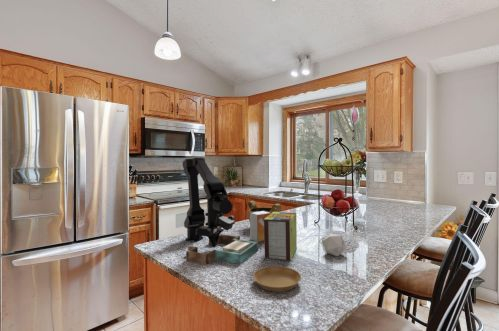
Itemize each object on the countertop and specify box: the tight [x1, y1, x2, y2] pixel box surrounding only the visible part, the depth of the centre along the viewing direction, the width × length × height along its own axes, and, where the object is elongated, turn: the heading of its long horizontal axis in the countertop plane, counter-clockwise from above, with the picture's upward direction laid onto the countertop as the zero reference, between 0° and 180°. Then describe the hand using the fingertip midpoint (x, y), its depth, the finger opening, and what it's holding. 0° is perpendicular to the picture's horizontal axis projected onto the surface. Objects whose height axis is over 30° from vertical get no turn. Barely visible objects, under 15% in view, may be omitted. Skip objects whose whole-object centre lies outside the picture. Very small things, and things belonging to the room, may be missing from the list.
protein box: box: [263, 211, 298, 262], centre depth 108 cm, size 10×15×16 cm
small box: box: [249, 211, 271, 243], centre depth 127 cm, size 8×6×13 cm
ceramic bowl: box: [247, 200, 282, 223], centre depth 147 cm, size 22×17×15 cm
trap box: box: [185, 233, 259, 265], centre depth 109 cm, size 24×26×4 cm
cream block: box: [221, 241, 250, 253], centre depth 107 cm, size 7×10×4 cm
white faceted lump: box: [321, 232, 347, 257], centre depth 106 cm, size 8×9×10 cm
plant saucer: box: [252, 265, 302, 293], centre depth 82 cm, size 15×15×3 cm
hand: (214, 247), depth 111 cm, fingers closed
